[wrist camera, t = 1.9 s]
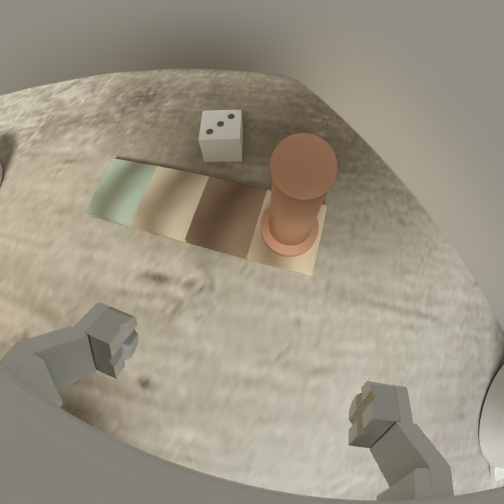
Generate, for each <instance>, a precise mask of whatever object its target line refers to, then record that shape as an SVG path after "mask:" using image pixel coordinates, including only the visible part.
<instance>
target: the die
mask: <svg viewBox="0 0 504 504" xmlns="http://www.w3.org/2000/svg"><path fill="white" fill-rule="evenodd" d="M199 144H200V148H201V151H202V155H203V159H204V162H242V148H243V124H242V110H211V111H203V113H202V119H201V126H200V133H199Z"/></svg>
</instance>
